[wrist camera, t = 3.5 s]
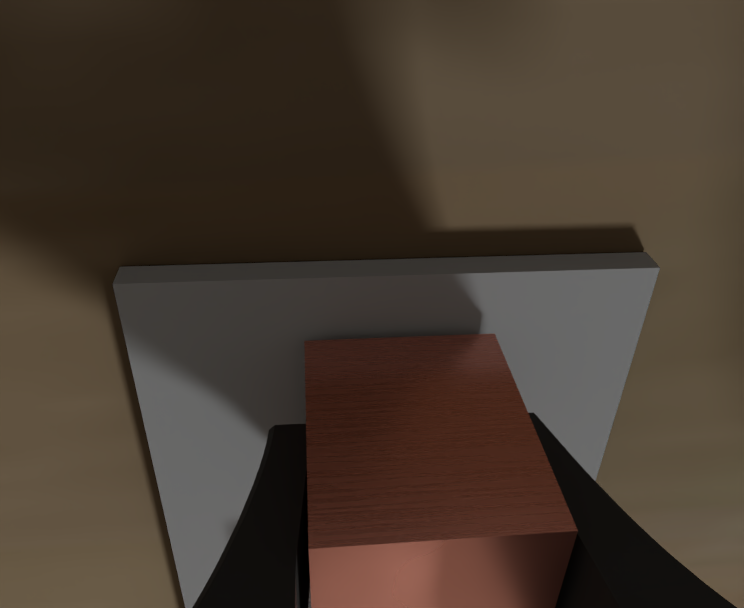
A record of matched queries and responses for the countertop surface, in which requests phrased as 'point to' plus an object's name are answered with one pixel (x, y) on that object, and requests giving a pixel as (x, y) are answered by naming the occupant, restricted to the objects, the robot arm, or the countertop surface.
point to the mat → (355, 321)
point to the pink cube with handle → (427, 479)
